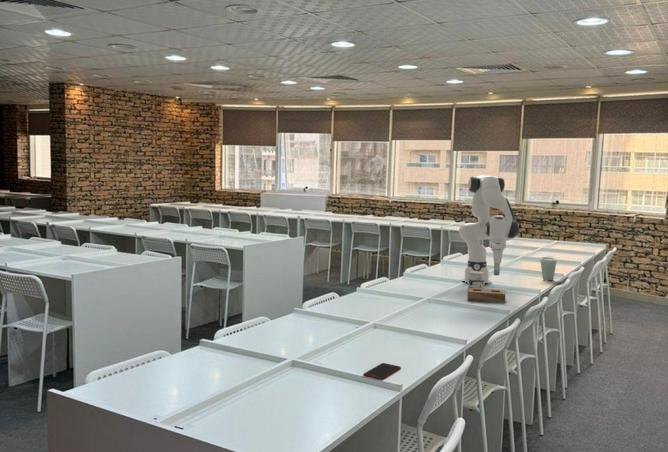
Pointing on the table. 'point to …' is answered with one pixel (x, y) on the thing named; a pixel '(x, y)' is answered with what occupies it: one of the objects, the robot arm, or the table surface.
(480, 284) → the ink box
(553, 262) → the disposable coffee cup
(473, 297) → the block
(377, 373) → the cell phone
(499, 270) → the pin
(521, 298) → the table surface
